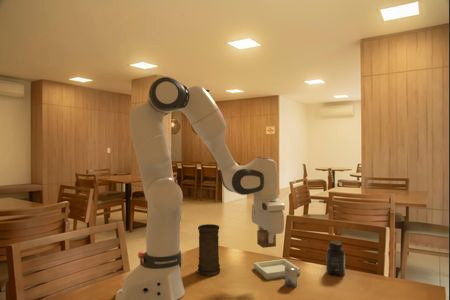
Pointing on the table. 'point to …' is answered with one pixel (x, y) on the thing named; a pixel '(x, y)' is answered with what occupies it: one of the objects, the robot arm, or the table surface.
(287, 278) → the metal cylinder
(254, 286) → the table surface
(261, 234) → the walnut block
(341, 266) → the supplement bottle
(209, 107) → the robot arm
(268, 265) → the tray
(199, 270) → the container
